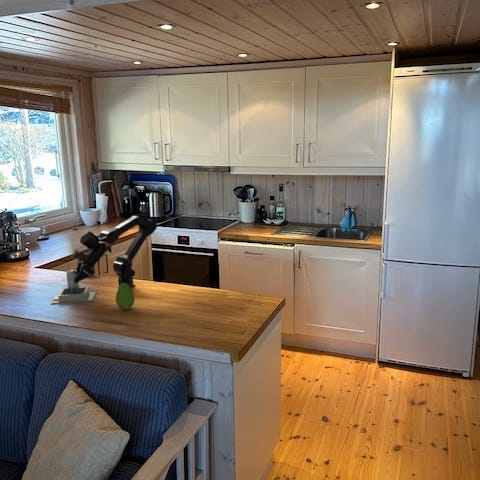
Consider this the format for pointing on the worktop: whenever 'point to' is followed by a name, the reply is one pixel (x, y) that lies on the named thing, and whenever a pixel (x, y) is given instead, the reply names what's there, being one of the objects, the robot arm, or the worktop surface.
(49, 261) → the worktop surface
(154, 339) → the worktop surface
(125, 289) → the avocado
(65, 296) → the tray
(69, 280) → the big cell
